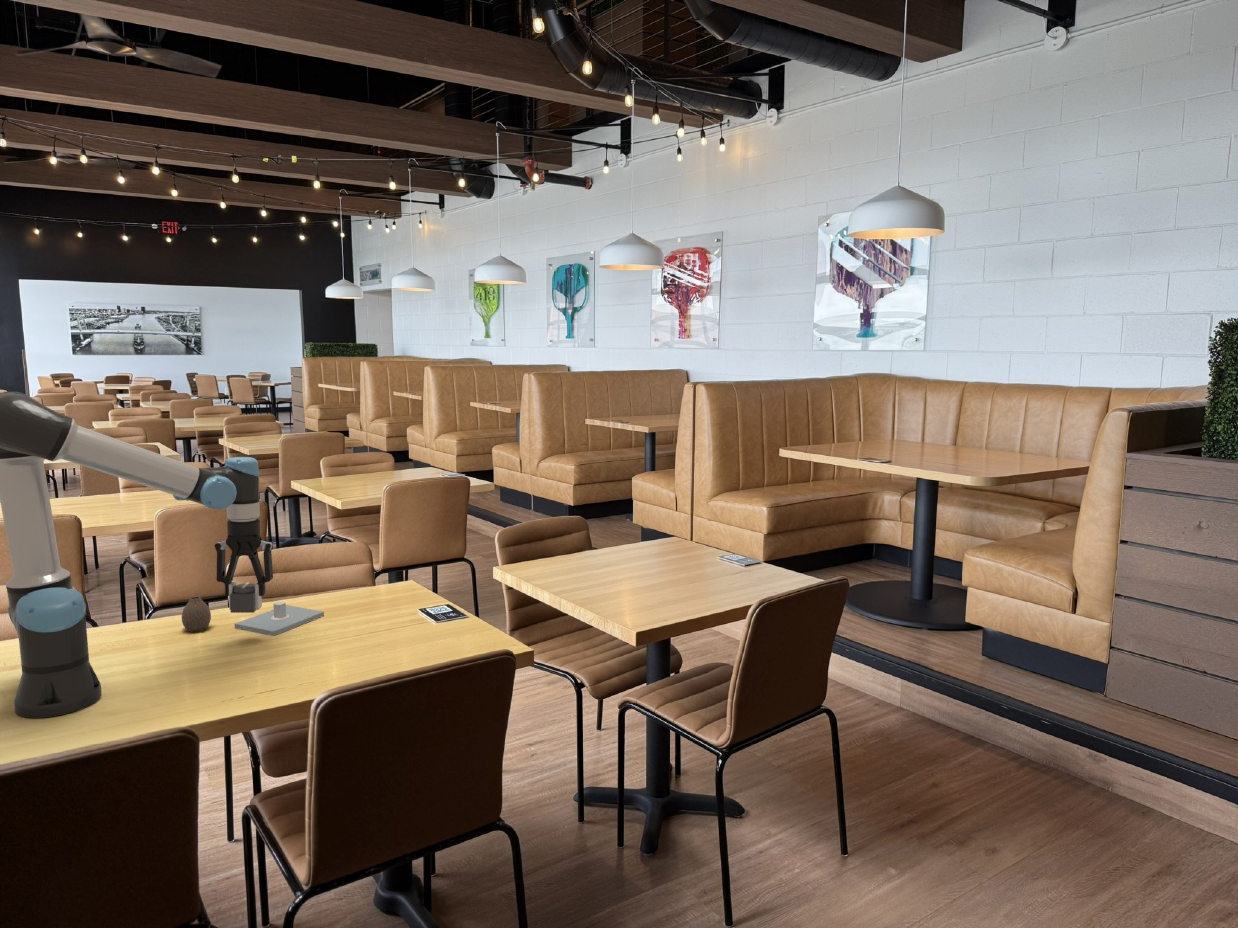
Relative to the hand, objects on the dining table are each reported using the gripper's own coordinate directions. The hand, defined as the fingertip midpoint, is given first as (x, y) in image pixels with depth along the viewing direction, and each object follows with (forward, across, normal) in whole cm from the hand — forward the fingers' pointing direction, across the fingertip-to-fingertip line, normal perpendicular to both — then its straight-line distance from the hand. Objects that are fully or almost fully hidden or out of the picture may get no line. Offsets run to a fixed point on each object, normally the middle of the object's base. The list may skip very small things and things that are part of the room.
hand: (245, 607), depth 208 cm
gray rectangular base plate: (+8, -4, -15) cm, 17 cm away
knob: (0, 0, 0) cm, 0 cm away
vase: (+9, +16, -10) cm, 21 cm away
